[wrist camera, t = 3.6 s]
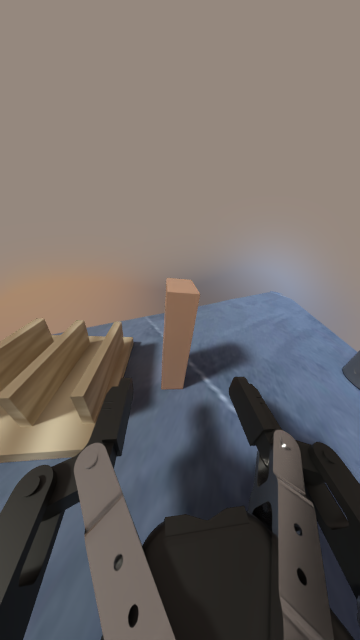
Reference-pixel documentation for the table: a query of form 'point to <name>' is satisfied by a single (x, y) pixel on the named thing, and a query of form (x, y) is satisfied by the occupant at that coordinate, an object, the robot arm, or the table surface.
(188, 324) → the clay slat
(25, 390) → the wooden slotted stand
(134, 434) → the table surface
